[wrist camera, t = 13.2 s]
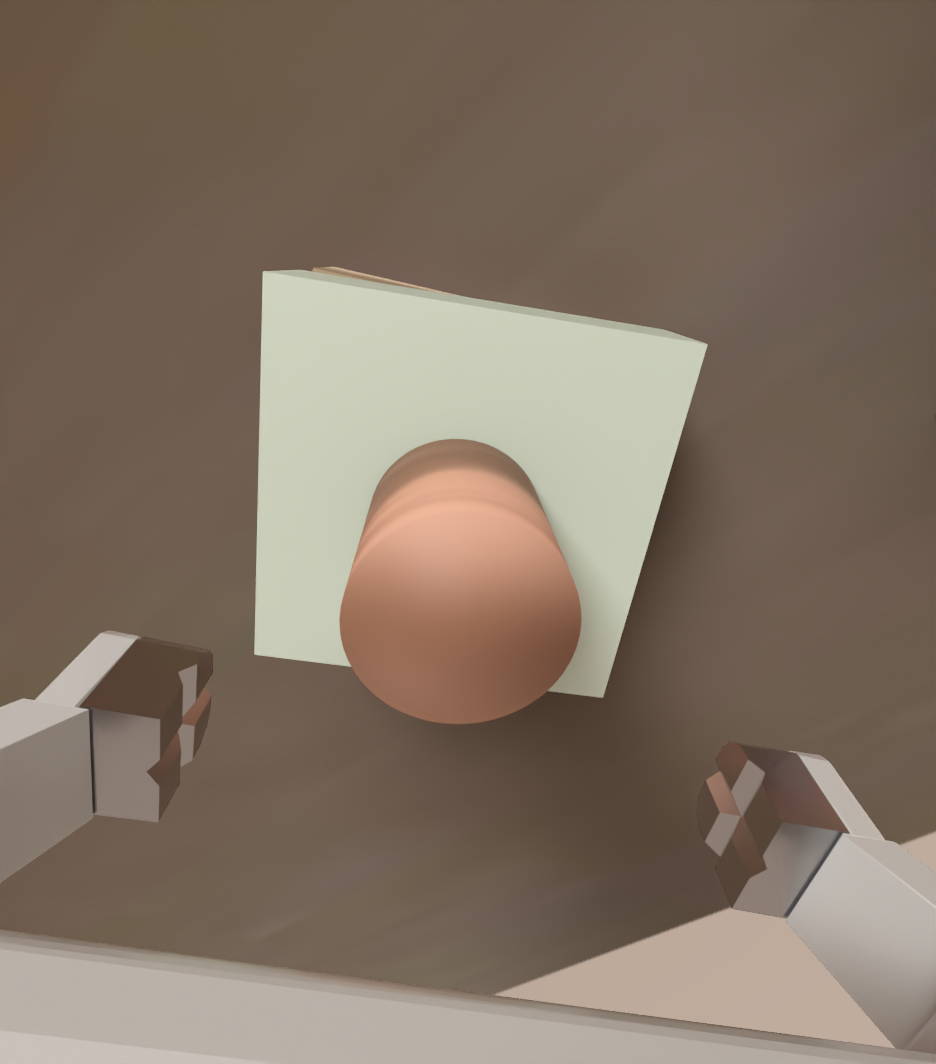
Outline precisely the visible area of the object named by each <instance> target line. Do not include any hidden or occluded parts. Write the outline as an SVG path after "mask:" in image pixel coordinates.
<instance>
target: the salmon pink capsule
mask: <svg viewBox="0 0 936 1064" xmlns="http://www.w3.org/2000/svg"><path fill="white" fill-rule="evenodd" d="M339 622H340V635H341V640H342V645H343V648H344V651H345V654H346V657H347V659H348V661H349V663H350V665H351V667H352V669H353V670H354V672H355V673H356V675H357V676H358V678H359V679H360V680H361V682H362V683H363V684H364V685H365V686H366V687H367V688H368V689H369V690H370V691H371V692H372V693H373V694H374V695H376V696H377V697H378V698H379V699H381V700H382V701H383V702H385V703H386V704H388V705H390V706H391V707H393V708H395V709H396V710H399V711H401V712H403V713H405V714H407V715H410V716H413V717H416V718H419V719H422V720H427V721H431V722H436V723H445V724H471V723H480V722H485V721H490V720H494V719H497V718H500V717H504V716H507V715H509V714H511V713H514V712H516V711H518V710H520V709H522V708H524V707H526V706H527V705H529V704H531V703H532V702H534V701H535V700H537V699H538V698H539V697H541V696H542V695H543V694H545V693H546V692H547V691H548V690H549V689H550V688H551V687H552V686H553V685H554V684H555V683H556V682H557V680H558V679H559V678H560V677H561V675H562V674H563V673H564V671H565V670H566V668H567V666H568V665H569V663H570V661H571V659H572V657H573V655H574V652H575V650H576V648H577V644H578V640H579V637H580V630H581V622H582V621H581V605H580V599H579V594H578V591H577V588H576V586H575V583H574V580H573V578H572V575H571V573H570V571H569V568H568V566H567V564H566V561H565V559H564V557H563V554H562V552H561V550H560V547H559V545H558V542H557V540H556V538H555V535H554V533H553V531H552V528H551V526H550V524H549V521H548V519H547V517H546V514H545V512H544V510H543V507H542V505H541V502H540V500H539V498H538V495H537V493H536V491H535V488H534V486H533V484H532V483H531V481H530V479H529V477H528V476H527V474H526V473H525V472H524V470H523V469H522V468H521V467H520V466H519V465H518V464H517V463H516V462H515V461H514V460H513V459H512V458H510V457H509V456H508V455H507V454H505V453H503V452H502V451H500V450H498V449H496V448H494V447H492V446H490V445H487V444H484V443H481V442H477V441H473V440H466V439H445V440H438V441H434V442H430V443H427V444H424V445H421V446H419V447H417V448H415V449H413V450H411V451H409V452H407V453H406V454H405V455H403V456H402V457H400V458H399V459H398V460H397V461H396V462H395V463H393V464H392V465H391V466H390V467H389V469H388V470H387V471H386V472H385V474H384V475H383V476H382V478H381V480H380V481H379V483H378V485H377V487H376V489H375V492H374V494H373V497H372V500H371V504H370V507H369V511H368V514H367V517H366V521H365V524H364V527H363V531H362V534H361V538H360V541H359V544H358V548H357V551H356V554H355V558H354V561H353V565H352V568H351V571H350V575H349V578H348V581H347V585H346V588H345V592H344V595H343V599H342V603H341V609H340V619H339Z"/></svg>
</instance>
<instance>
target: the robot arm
mask: <svg viewBox="0 0 936 1064" xmlns="http://www.w3.org/2000/svg"><path fill="white" fill-rule="evenodd" d="M212 673H213V654H212V652H211V651H210V650H208V649H203V648H198V647H193V646H188V645H183V644H178V643H173V642H168V641H163V640H158V639H153V638H148V637H140V636H136V635H130V634H125V633H120V632H114V631H106V632H103V633H100V634H99V635H98V636H97V637H96V638H95V639H94V640H93V641H92V642H91V643H90V644H89V645H88V646H87V647H86V648H85V649H84V650H83V651H82V652H81V653H80V654H79V655H78V656H77V657H76V658H75V659H74V660H73V661H72V662H71V663H70V664H69V665H68V666H67V667H66V669H65V670H64V671H63V672H62V673H61V674H60V675H59V676H58V677H57V678H56V679H55V680H54V681H53V682H52V683H51V684H50V685H49V686H48V687H47V688H46V689H45V690H44V691H43V692H42V693H41V694H40V695H39V696H38V697H37V698H36V699H35V700H29V699H21V700H18V701H16V702H13V703H10V704H8V705H5V706H3V707H0V883H1V882H2V881H4V880H5V879H6V878H8V877H9V876H11V875H12V874H14V873H15V872H16V871H18V870H19V869H21V868H22V867H24V866H25V865H26V864H28V863H29V862H31V861H32V860H34V859H35V858H37V857H38V856H39V855H41V854H42V853H44V852H45V851H47V850H48V849H49V848H51V847H52V846H54V845H55V844H57V843H58V842H59V841H61V840H62V839H64V838H65V837H67V836H68V835H69V834H71V833H72V832H74V831H75V830H77V829H78V828H80V827H81V826H82V825H84V824H85V823H87V822H88V821H90V820H91V819H92V818H93V814H95V815H103V816H111V817H119V818H128V819H136V820H144V821H152V822H159V820H160V818H161V817H162V815H163V813H164V811H165V809H166V808H167V806H168V804H169V802H170V800H171V799H172V797H173V795H174V793H175V791H176V789H177V788H178V786H179V784H180V767H181V766H183V765H185V764H186V763H188V762H190V761H191V760H193V758H194V756H195V754H196V752H197V750H198V749H199V747H200V745H201V742H202V739H203V736H204V733H205V730H206V728H207V724H208V719H209V714H210V707H211V696H210V694H209V693H208V691H207V690H206V688H205V685H206V683H207V682H208V680H209V678H210V677H211V675H212ZM716 762H717V765H718V768H719V770H720V771H719V772H718V773H716V774H715V775H713V776H711V777H710V778H708V779H707V780H705V782H704V785H703V787H702V789H701V792H700V794H699V796H698V808H697V816H698V822H699V828H700V830H701V833H702V836H703V838H704V841H705V842H706V843H707V844H708V845H709V846H710V847H711V848H712V849H713V850H714V851H715V852H716V853H717V854H718V855H719V858H718V861H717V864H716V867H715V869H716V871H717V873H718V876H719V878H720V881H721V883H722V886H723V888H724V891H725V893H726V896H727V898H728V900H729V903H730V905H731V908H732V909H736V910H743V911H747V912H753V913H758V914H764V915H770V916H775V917H781V918H786V919H787V920H786V922H787V924H788V925H789V926H790V927H791V928H792V929H793V930H794V932H795V933H796V934H797V935H798V936H799V937H800V939H801V940H802V941H803V942H804V943H805V944H806V946H807V947H808V948H809V949H810V950H811V951H812V952H813V953H814V955H815V956H816V957H817V958H818V959H819V960H820V962H821V963H822V964H823V965H824V966H825V967H826V968H827V970H828V971H829V972H830V973H831V974H832V975H833V976H834V978H835V979H836V980H837V981H838V982H839V983H840V985H841V986H842V987H843V988H844V989H845V990H846V991H847V993H848V994H849V995H850V996H851V997H852V998H853V1000H854V1001H855V1002H856V1003H857V1004H858V1005H859V1006H860V1007H861V1009H862V1010H863V1011H864V1012H865V1013H866V1015H867V1016H868V1017H869V1018H870V1019H871V1020H872V1021H873V1023H874V1024H875V1025H876V1026H877V1027H878V1028H879V1029H880V1031H881V1032H882V1033H883V1034H884V1035H885V1036H886V1037H887V1039H888V1040H889V1041H890V1042H891V1043H892V1044H893V1046H894V1047H895V1048H896V1049H894V1048H886V1047H879V1046H872V1045H864V1044H857V1043H849V1042H842V1041H834V1040H827V1039H820V1038H812V1037H805V1036H796V1035H789V1034H782V1033H774V1032H767V1031H759V1030H751V1029H743V1028H736V1027H729V1026H721V1025H714V1024H706V1023H698V1022H691V1021H683V1020H675V1019H668V1018H660V1017H652V1016H645V1015H638V1014H630V1013H622V1012H615V1011H607V1010H600V1009H593V1008H584V1007H577V1006H570V1005H562V1004H555V1003H546V1002H540V1001H533V1000H525V999H518V998H510V997H502V996H495V995H488V994H480V993H473V992H466V991H458V990H451V989H443V988H436V987H428V986H421V985H413V984H406V983H398V982H391V981H383V980H376V979H368V978H361V977H353V976H346V975H338V974H331V973H323V972H316V971H308V970H301V969H293V968H286V967H278V966H271V965H263V964H256V963H248V962H241V961H233V960H226V959H218V958H211V957H203V956H196V955H188V954H181V953H173V952H166V951H158V950H151V949H143V948H135V947H128V946H120V945H113V944H105V943H98V942H90V941H83V940H75V939H68V938H60V937H53V936H45V935H38V934H30V933H23V932H15V931H8V930H0V1064H936V872H934V871H933V870H932V869H930V868H929V867H928V866H926V865H925V864H924V863H922V862H921V861H920V860H918V859H917V858H916V857H914V856H913V855H912V854H910V853H909V852H908V851H906V850H905V849H904V848H902V847H901V846H900V845H898V844H897V843H896V842H892V841H887V840H885V839H884V838H883V836H882V835H881V833H880V832H879V831H878V829H877V828H876V826H875V825H874V824H873V822H872V821H871V819H870V818H869V817H868V815H867V814H866V812H865V811H864V810H863V808H862V807H861V805H860V804H859V803H858V801H857V800H856V798H855V797H854V796H853V794H852V793H851V791H850V790H849V789H848V787H847V786H846V784H845V783H844V782H843V780H842V779H841V777H840V776H839V775H838V773H837V772H836V770H835V769H834V768H833V766H832V765H831V763H830V762H829V761H828V760H826V759H825V758H823V757H822V756H820V755H816V754H809V753H802V752H796V751H783V750H778V749H772V748H766V747H760V746H754V745H748V744H742V743H736V742H728V743H727V744H726V745H725V746H723V747H722V749H721V751H720V753H719V754H718V756H717V758H716Z"/></svg>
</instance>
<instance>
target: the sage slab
mask: <svg viewBox="0 0 936 1064" xmlns="http://www.w3.org/2000/svg"><path fill="white" fill-rule="evenodd" d="M707 345H708V344H705V343H702V342H699V341H696V340H693V339H690V338H687V337H684V336H681V335H678V334H676V333H673V332H670V331H667V330H663V329H657V328H651V327H645V326H638V325H632V324H626V323H620V322H614V321H608V320H602V319H596V318H590V317H584V316H578V315H572V314H566V313H560V312H553V311H547V310H541V309H535V308H529V307H523V306H517V305H511V304H505V303H499V302H493V301H487V300H481V299H475V298H468V297H462V296H456V295H450V294H444V293H438V292H432V291H426V290H420V289H414V288H408V287H402V286H396V285H390V284H383V283H377V282H371V281H365V280H359V279H353V278H347V277H341V276H335V275H329V274H323V273H317V272H311V271H305V270H284V271H263V292H262V337H261V383H260V428H259V474H258V519H257V565H256V610H255V655H262V656H270V657H278V658H286V659H294V660H302V661H310V662H318V663H326V664H334V665H342V666H350V667H351V665H350V663H349V661H348V659H347V657H346V654H345V651H344V648H343V645H342V640H341V635H340V622H339V619H340V609H341V603H342V599H343V595H344V592H345V588H346V585H347V581H348V578H349V575H350V571H351V568H352V565H353V561H354V558H355V554H356V551H357V548H358V544H359V541H360V538H361V534H362V531H363V527H364V524H365V521H366V517H367V514H368V511H369V507H370V504H371V500H372V497H373V494H374V492H375V489H376V487H377V485H378V483H379V481H380V480H381V478H382V476H383V475H384V474H385V472H386V471H387V470H388V469H389V467H390V466H391V465H392V464H393V463H395V462H396V461H397V460H398V459H399V458H400V457H402V456H403V455H405V454H406V453H407V452H409V451H411V450H413V449H415V448H417V447H419V446H421V445H424V444H427V443H430V442H434V441H438V440H445V439H466V440H473V441H477V442H481V443H484V444H487V445H490V446H492V447H494V448H496V449H498V450H500V451H502V452H503V453H505V454H507V455H508V456H509V457H510V458H512V459H513V460H514V461H515V462H516V463H517V464H518V465H519V466H520V467H521V468H522V469H523V470H524V472H525V473H526V474H527V476H528V477H529V479H530V481H531V483H532V484H533V486H534V488H535V491H536V493H537V495H538V498H539V500H540V502H541V505H542V507H543V510H544V512H545V514H546V517H547V519H548V521H549V524H550V526H551V528H552V531H553V533H554V535H555V538H556V540H557V542H558V545H559V547H560V550H561V552H562V554H563V557H564V559H565V561H566V564H567V566H568V568H569V571H570V573H571V575H572V578H573V580H574V583H575V586H576V588H577V591H578V594H579V599H580V605H581V621H582V622H581V630H580V637H579V640H578V644H577V648H576V650H575V652H574V655H573V657H572V659H571V661H570V663H569V665H568V666H567V668H566V670H565V671H564V673H563V674H562V675H561V677H560V678H559V679H558V680H557V682H556V683H555V684H554V685H553V686H552V687H551V688H550V689H549V690H548V691H552V692H560V693H568V694H576V695H584V696H592V697H600V698H603V696H604V693H605V689H606V686H607V682H608V679H609V676H610V672H611V669H612V666H613V662H614V659H615V655H616V652H617V649H618V645H619V642H620V639H621V635H622V632H623V628H624V625H625V622H626V618H627V615H628V612H629V608H630V605H631V601H632V598H633V595H634V591H635V588H636V585H637V581H638V578H639V574H640V571H641V568H642V564H643V561H644V558H645V554H646V551H647V547H648V544H649V541H650V537H651V534H652V531H653V527H654V524H655V520H656V517H657V514H658V510H659V507H660V503H661V500H662V497H663V493H664V490H665V487H666V483H667V480H668V476H669V473H670V470H671V466H672V463H673V460H674V456H675V453H676V449H677V446H678V443H679V439H680V436H681V433H682V429H683V426H684V422H685V419H686V416H687V412H688V409H689V406H690V402H691V399H692V395H693V392H694V389H695V385H696V382H697V379H698V375H699V372H700V368H701V365H702V362H703V358H704V355H705V351H706V348H707Z"/></svg>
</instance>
